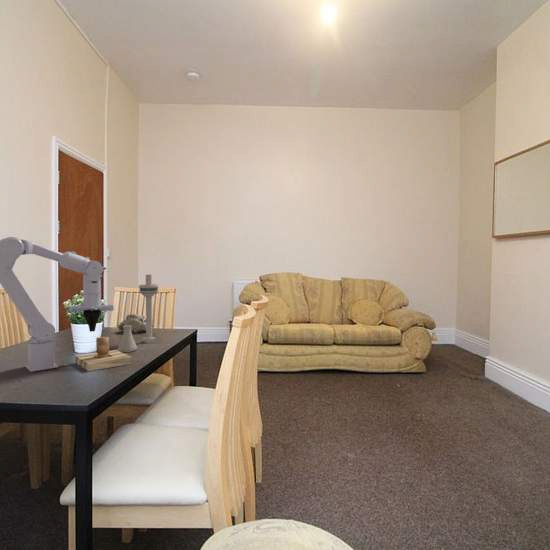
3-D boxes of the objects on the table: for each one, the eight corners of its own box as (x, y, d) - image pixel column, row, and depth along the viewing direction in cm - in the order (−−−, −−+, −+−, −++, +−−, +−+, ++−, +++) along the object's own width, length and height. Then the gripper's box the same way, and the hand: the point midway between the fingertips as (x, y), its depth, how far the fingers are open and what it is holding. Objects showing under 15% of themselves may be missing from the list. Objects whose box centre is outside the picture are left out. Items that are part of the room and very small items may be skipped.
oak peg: (94, 364, 130) (93, 338, 130) (101, 361, 134) (100, 336, 134) (104, 365, 129) (104, 339, 129) (111, 362, 133) (111, 336, 133)
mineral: (147, 329, 186) (152, 311, 190) (113, 327, 186) (118, 309, 191) (154, 337, 197) (158, 319, 201) (121, 335, 197) (126, 317, 202)
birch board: (75, 363, 132) (75, 355, 132) (116, 356, 142) (116, 349, 142) (88, 371, 122) (88, 363, 122) (131, 363, 131) (131, 356, 131)
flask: (128, 353, 147) (128, 327, 147) (113, 351, 149) (113, 326, 149) (141, 349, 154) (140, 325, 153) (126, 348, 156) (126, 324, 156)
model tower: (162, 341, 169) (162, 274, 168) (144, 344, 163) (144, 275, 162) (153, 338, 175) (152, 274, 174) (135, 341, 169) (135, 274, 168)
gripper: (66, 294, 131) (67, 333, 131) (111, 294, 134) (111, 332, 134) (72, 293, 138) (73, 330, 138) (115, 292, 141) (115, 328, 141)
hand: (92, 331), depth 137 cm, fingers closed
